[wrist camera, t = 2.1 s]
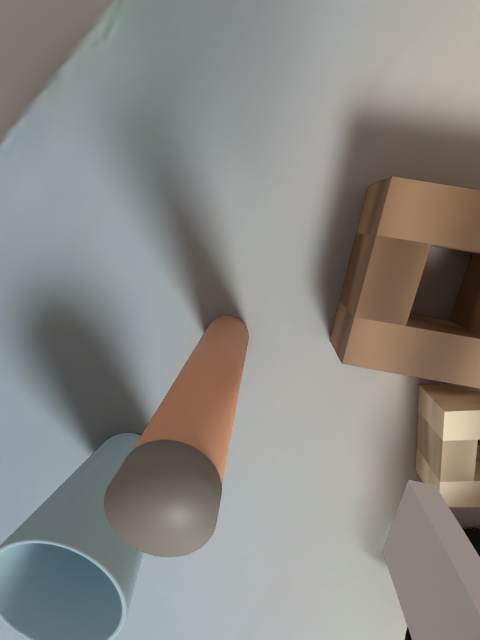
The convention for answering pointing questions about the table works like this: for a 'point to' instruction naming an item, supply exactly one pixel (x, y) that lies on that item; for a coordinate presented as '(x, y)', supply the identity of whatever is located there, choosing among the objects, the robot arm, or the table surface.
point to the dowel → (182, 452)
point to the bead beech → (450, 442)
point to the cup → (71, 559)
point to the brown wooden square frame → (410, 284)
